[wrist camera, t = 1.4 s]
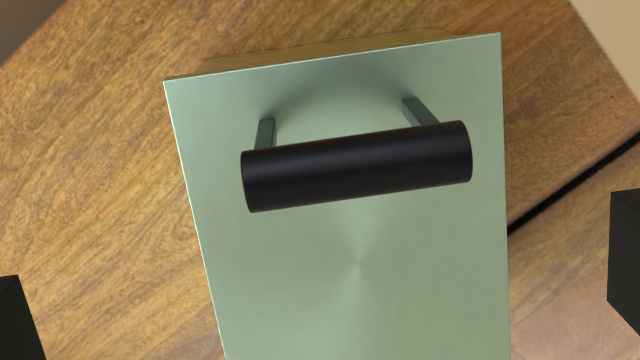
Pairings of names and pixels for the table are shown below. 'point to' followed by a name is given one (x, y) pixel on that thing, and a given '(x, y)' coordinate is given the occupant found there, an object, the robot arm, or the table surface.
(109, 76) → the table surface
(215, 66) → the freezer
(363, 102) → the freezer lid
